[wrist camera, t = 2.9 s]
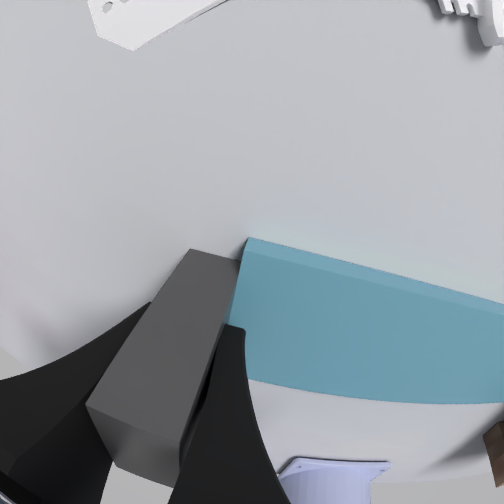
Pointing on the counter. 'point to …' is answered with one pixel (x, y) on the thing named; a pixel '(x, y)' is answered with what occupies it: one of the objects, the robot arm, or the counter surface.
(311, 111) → the counter surface
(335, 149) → the counter surface
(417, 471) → the counter surface
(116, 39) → the knife
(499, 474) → the low wooden stool
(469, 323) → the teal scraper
